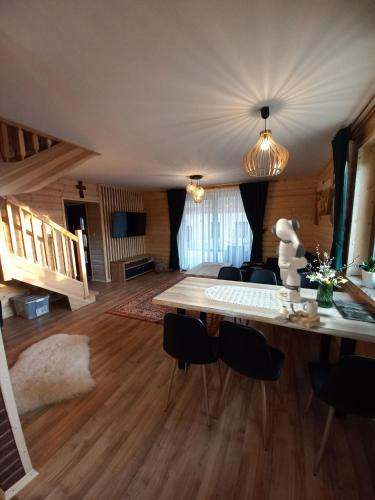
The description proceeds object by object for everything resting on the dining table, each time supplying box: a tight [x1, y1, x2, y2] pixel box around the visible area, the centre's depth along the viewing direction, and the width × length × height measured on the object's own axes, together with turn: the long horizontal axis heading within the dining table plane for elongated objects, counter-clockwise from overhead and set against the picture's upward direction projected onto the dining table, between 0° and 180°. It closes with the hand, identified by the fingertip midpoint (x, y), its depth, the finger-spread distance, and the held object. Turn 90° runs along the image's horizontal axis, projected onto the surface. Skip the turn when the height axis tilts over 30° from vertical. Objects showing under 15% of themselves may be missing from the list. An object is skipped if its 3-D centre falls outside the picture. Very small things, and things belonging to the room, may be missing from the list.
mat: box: [273, 314, 291, 324], centre depth 144 cm, size 8×8×1 cm
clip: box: [289, 302, 297, 315], centre depth 145 cm, size 15×3×3 cm, turn 161°
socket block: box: [287, 310, 321, 329], centre depth 140 cm, size 14×14×5 cm
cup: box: [302, 300, 319, 316], centre depth 153 cm, size 7×10×9 cm
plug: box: [278, 305, 290, 320], centre depth 144 cm, size 6×6×9 cm
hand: (284, 282), depth 141 cm, fingers open, 8 cm apart
